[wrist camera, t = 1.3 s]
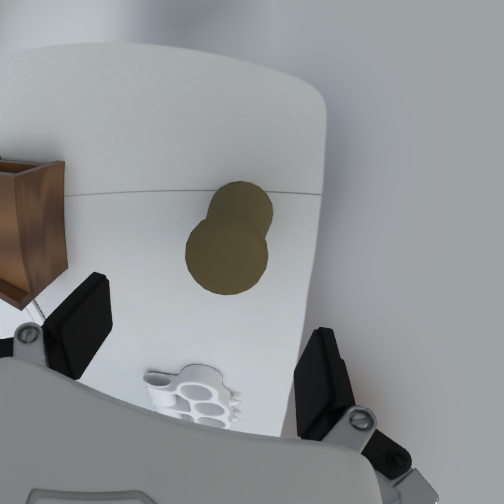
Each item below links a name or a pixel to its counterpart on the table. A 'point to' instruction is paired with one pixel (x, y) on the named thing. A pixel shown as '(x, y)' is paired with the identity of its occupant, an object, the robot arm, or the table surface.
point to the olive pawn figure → (231, 240)
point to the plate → (17, 317)
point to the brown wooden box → (30, 229)
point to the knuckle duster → (192, 396)
